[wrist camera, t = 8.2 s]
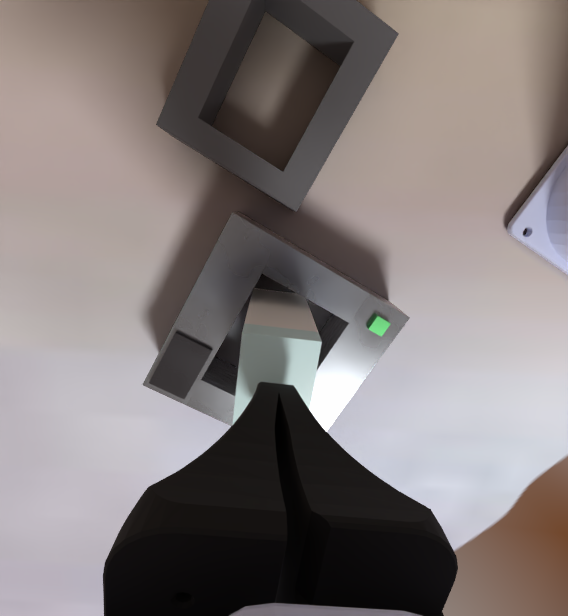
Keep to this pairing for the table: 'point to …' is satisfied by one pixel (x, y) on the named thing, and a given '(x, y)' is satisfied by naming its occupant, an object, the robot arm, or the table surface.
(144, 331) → the table surface
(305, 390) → the plug
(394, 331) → the port
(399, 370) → the table surface
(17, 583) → the table surface
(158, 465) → the table surface
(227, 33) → the grey hollow square frame
